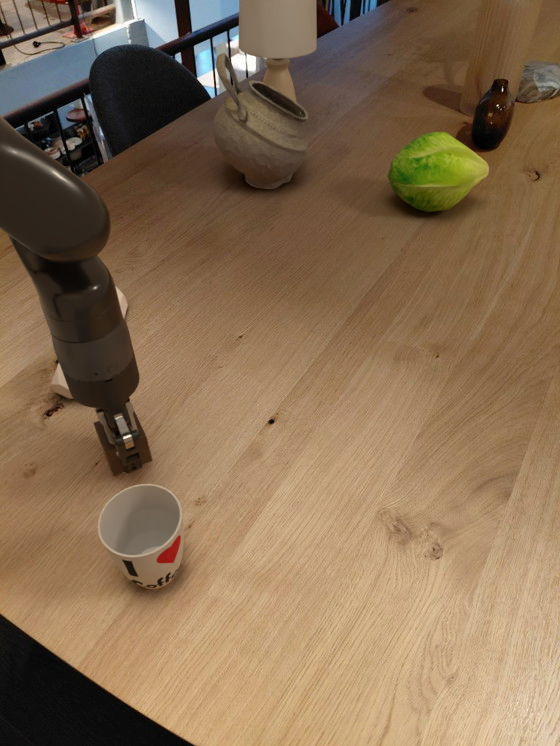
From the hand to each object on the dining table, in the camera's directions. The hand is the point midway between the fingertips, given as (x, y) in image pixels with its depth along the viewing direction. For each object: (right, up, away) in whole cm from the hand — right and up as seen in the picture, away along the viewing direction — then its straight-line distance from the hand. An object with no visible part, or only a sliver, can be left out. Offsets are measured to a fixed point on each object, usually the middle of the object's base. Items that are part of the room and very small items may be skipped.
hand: (126, 452), depth 71 cm
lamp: (+19, +74, +78) cm, 109 cm away
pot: (+15, +54, +58) cm, 81 cm away
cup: (+6, -12, -8) cm, 15 cm away
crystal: (-9, +14, +17) cm, 24 cm away
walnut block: (0, 0, 0) cm, 0 cm away
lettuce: (+51, +45, +49) cm, 84 cm away
